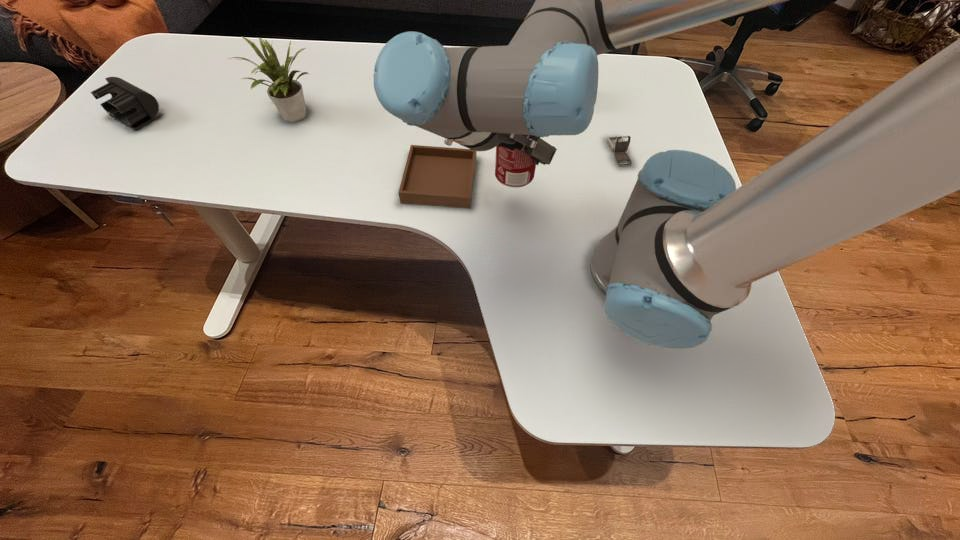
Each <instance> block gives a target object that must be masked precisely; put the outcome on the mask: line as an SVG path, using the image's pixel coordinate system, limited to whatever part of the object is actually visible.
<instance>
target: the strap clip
mask: <svg viewBox="0 0 960 540" xmlns="http://www.w3.org/2000/svg"><path fill="white" fill-rule="evenodd" d="M623 139H627V140H623ZM606 143H607V146H608V147H609V149H610V150H611V152H614V154H613V157H614V161H615V163H616V165H617V166H619V167H628V166H632V159H631V158H630V155H629V154H628V152H627V151H628V149H629V146H630V143H631V136H630V135H618V136H608V137H607V140H606Z"/></svg>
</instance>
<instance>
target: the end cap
mask: <svg viewBox="0 0 960 540" xmlns="http://www.w3.org/2000/svg"><path fill="white" fill-rule="evenodd" d="M104 79H105V81H106V82H107V83H105V84H103V85H102V86H100V87H98V88H96V89H94V90H92V91H90V94H91V95H92V96H93V97H94V99H95V100H99V99H101V98H103V97H105V96H107V95H109V94H110V96H111V97H110V98H109V99H107V100H105V101H104V102H101V103H100V104H99V105H100V106H101V107H102V109H103V110H104V111H105V112H106V113H108V115H109V116H110V117H111V118H112V119H114V120H116V121H117V122H119V123H120V124H123V125H124V126H126V127H127V128H129V129H131V130H132V131H135V132H136V131H139V130H141V129H143V128H144V127H146V126H147V125H149V124H151V123H153V122H154V120H155V119H156V117H157V116H158V114H159V110H160V105H159V102H158V100H157V98H156V97H155V96H154V95H153V94H151V93H149V92H148V91H146V90H144V89H142V88H140V87H138V86H137V85H134V84H132V83H130V82H128V81H126V79H123V78H121V77H118V76H108V77H105V78H104Z"/></svg>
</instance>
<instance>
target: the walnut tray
mask: <svg viewBox="0 0 960 540" xmlns="http://www.w3.org/2000/svg"><path fill="white" fill-rule="evenodd" d="M477 152H478V151H474V150H471V149H469V148H462V147H461V148H460V147H447V146H446V147H445V146H434V145H419V144H410V146H409V150H408V154H407V159H406V162H405V166H404V170H403V173H402V178H401V182H400V185H399V189H398V192H397V193H398V198H399V202H400V204H408V205H422V206H435V207H450V208H460V209H461V208H462V209H471V205H472V198H473V197H472V196H473V189H474V181H475V174H476V165H477Z"/></svg>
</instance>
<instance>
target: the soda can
mask: <svg viewBox="0 0 960 540" xmlns="http://www.w3.org/2000/svg"><path fill="white" fill-rule="evenodd" d="M504 143H505V142H504ZM532 160H533V159H532V158H530V156H529V155H527V154H525V153H523V152H521V151H519V150H517V149H514V150H513V151H512V150H509V149H507V148H505V147H503V146H502V147H499V146H496V147H495V160H494V176H495V178H496V180H497V181H498V182H499V183H500V184H502V185H503V186H505V187H508V188H522V187H525V186H528V185H529V184H530V183H531V182H532V181H533V180H534V178H535V174H536V169H537V165H536V164H534V163H532Z"/></svg>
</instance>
